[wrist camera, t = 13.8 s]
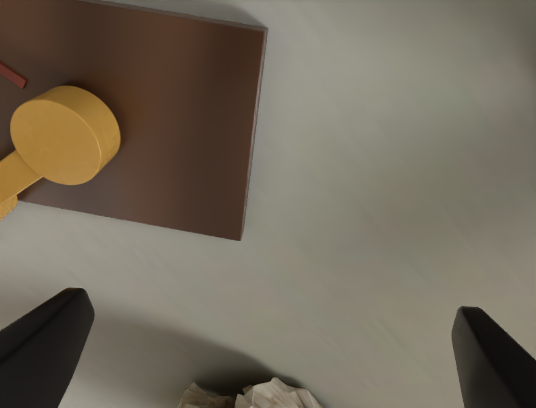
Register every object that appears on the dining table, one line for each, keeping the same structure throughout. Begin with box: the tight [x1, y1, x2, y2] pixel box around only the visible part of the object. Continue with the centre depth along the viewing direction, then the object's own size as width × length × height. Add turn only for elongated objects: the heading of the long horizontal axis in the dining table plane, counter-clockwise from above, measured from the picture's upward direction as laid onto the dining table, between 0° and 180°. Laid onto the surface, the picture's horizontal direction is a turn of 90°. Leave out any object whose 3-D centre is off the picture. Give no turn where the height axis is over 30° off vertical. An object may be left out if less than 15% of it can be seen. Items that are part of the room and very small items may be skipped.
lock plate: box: [0, 0, 268, 241], centre depth 21 cm, size 18×12×1 cm, turn 82°
